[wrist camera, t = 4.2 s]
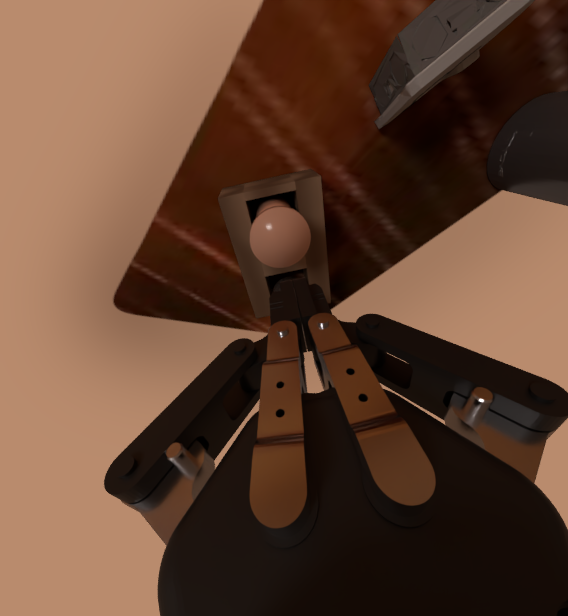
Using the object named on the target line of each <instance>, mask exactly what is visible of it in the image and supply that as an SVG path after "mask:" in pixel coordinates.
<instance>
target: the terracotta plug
mask: <svg viewBox="0 0 568 616" xmlns="http://www.w3.org/2000/svg"><path fill="white" fill-rule="evenodd" d="M310 241H311V233H310V229H309V226H308V224H307V222H306V220H305V219H304V217H303V216H302V215H301V214H300V213H299V212H298V211H296V210H295V209H293V208H291V206H290V204H289V203H288V202H287V201H286V200H285V199H284V198H282V197H280V196H269V197H266V198H264V199H263V200H262V201H261V202H260V203H259V205H258V207H257V210H256V218H255V220H254V221H253V223H252V226H251V229H250V246H251V249H252V251H253V253H254V255H255V256H256V257H257V259H258V260H260V261H261V262H262V263H264V264H265V265H267V266H270V267H274V268H284V267H289V266H291V265H294V264H295V263H297V262H298V261H300V260H301V259H302V258H303V257H304V255H305V254H306V253H307V251H308V249H309V246H310Z"/></svg>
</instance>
